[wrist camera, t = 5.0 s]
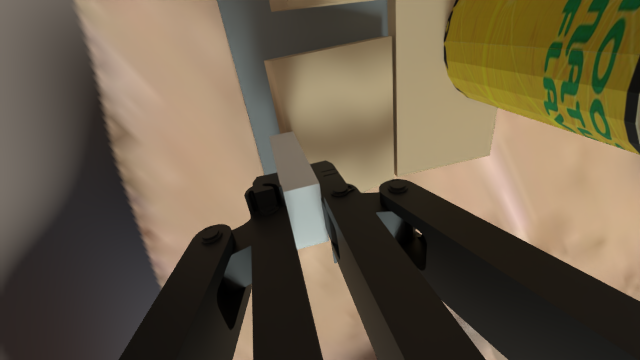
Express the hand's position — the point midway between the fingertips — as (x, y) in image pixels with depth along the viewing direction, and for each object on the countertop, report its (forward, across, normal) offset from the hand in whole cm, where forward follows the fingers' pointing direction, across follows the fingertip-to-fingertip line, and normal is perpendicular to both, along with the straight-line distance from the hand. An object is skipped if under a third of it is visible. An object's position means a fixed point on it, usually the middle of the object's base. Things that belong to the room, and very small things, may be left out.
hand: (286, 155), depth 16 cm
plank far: (+2, +4, 0) cm, 5 cm away
